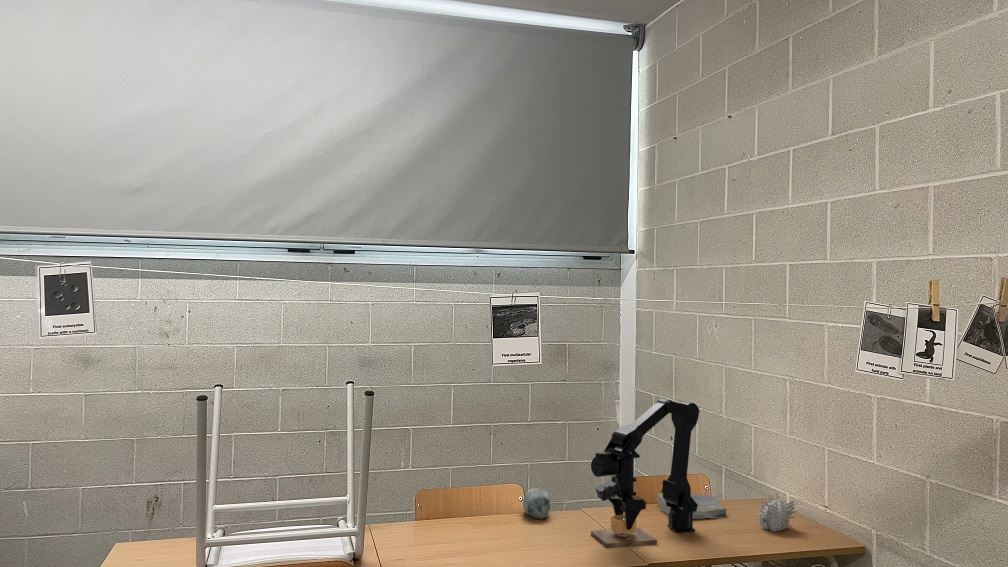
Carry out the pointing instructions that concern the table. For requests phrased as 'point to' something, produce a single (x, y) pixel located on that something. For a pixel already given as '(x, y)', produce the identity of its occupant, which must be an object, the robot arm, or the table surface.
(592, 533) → the shelf board
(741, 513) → the table surface
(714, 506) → the fossil
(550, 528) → the table surface
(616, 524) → the tan wooden ring
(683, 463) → the robot arm
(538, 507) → the grey rounded lump
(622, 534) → the hook post
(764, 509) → the sea urchin
